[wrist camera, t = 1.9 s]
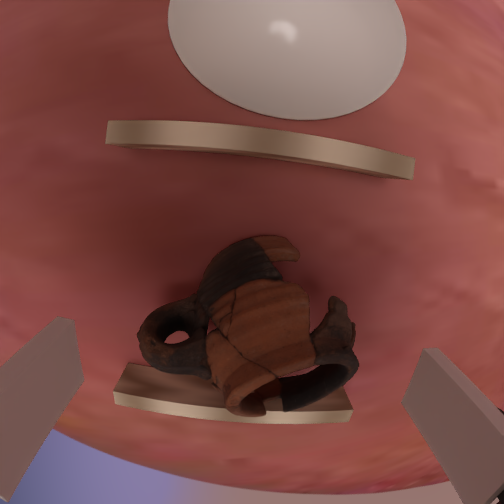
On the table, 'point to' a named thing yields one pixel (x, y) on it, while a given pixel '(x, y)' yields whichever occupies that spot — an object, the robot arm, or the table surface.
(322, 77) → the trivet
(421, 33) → the table surface
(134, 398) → the pair of beige bars
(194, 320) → the pottery mug
